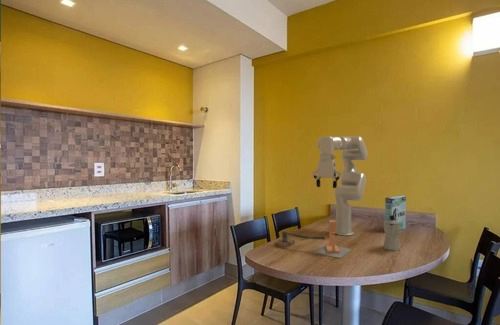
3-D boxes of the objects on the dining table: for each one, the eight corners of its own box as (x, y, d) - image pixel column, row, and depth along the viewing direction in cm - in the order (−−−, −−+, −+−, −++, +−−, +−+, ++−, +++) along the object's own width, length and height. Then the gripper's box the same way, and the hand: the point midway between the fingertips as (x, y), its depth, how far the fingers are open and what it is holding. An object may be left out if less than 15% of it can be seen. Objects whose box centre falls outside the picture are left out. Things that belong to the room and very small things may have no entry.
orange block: (325, 246, 159) (325, 218, 158) (336, 247, 158) (336, 219, 158) (327, 252, 148) (327, 223, 148) (339, 253, 147) (339, 223, 147)
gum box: (399, 227, 206) (399, 195, 205) (406, 228, 202) (406, 196, 201) (384, 231, 194) (384, 197, 194) (391, 232, 190) (392, 198, 190)
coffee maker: (400, 252, 149) (400, 218, 149) (381, 250, 154) (382, 216, 154) (401, 245, 163) (401, 213, 162) (384, 243, 167) (384, 212, 167)
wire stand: (284, 241, 169) (284, 229, 169) (325, 250, 153) (325, 236, 153) (274, 245, 161) (274, 232, 161) (317, 255, 145) (317, 240, 145)
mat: (325, 244, 163) (325, 244, 163) (351, 250, 154) (351, 249, 154) (312, 252, 150) (312, 251, 150) (340, 258, 141) (340, 257, 141)
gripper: (343, 157, 164) (343, 187, 164) (315, 158, 174) (315, 186, 175) (338, 157, 158) (338, 189, 158) (309, 157, 169) (309, 187, 169)
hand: (326, 187), depth 166 cm, fingers open, 9 cm apart
